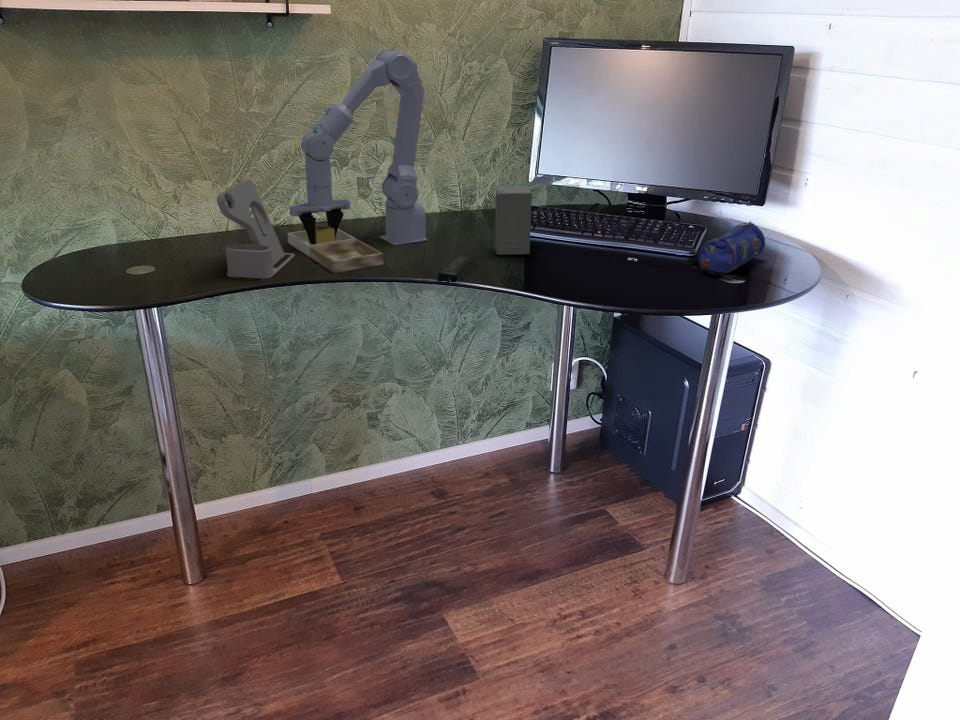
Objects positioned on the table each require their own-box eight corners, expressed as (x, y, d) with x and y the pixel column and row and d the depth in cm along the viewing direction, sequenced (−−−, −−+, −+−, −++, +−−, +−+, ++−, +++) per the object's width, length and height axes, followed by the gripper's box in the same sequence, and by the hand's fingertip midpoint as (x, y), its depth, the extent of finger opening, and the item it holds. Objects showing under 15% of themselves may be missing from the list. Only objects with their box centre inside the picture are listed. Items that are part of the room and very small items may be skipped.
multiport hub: (477, 266, 178) (477, 256, 177) (456, 286, 166) (456, 275, 165) (459, 263, 179) (459, 254, 178) (437, 283, 167) (437, 273, 166)
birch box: (358, 251, 183) (358, 239, 182) (383, 266, 174) (383, 253, 173) (310, 259, 177) (310, 247, 176) (334, 275, 168) (333, 261, 167)
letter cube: (327, 242, 188) (326, 223, 186) (335, 247, 184) (334, 228, 183) (309, 244, 185) (308, 226, 183) (317, 249, 182) (316, 231, 180)
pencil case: (730, 252, 193) (736, 215, 189) (764, 260, 189) (771, 222, 185) (694, 274, 177) (700, 233, 173) (730, 282, 173) (737, 241, 169)
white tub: (334, 238, 193) (334, 226, 192) (357, 251, 184) (356, 238, 183) (288, 245, 186) (287, 233, 185) (309, 258, 177) (308, 246, 176)
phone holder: (269, 281, 163) (261, 197, 156) (223, 278, 164) (213, 194, 156) (296, 256, 179) (290, 178, 171) (254, 253, 180) (246, 176, 172)
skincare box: (527, 249, 190) (531, 184, 183) (529, 258, 183) (534, 191, 177) (493, 248, 190) (495, 183, 183) (494, 257, 183) (497, 190, 176)
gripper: (296, 192, 172) (300, 250, 178) (355, 185, 180) (357, 241, 185) (284, 185, 177) (288, 242, 183) (341, 179, 185) (344, 234, 191)
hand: (322, 242), depth 184 cm, fingers closed on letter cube, 4 cm apart
